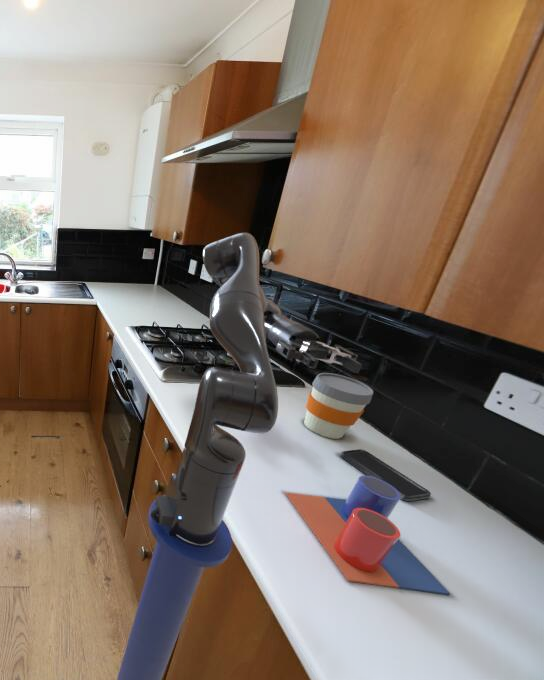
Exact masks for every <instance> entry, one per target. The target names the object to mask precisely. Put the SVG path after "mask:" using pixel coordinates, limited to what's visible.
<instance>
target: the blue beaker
mask: <svg viewBox="0 0 544 680" xmlns="http://www.w3.org/2000/svg"><path fill="white" fill-rule="evenodd" d="M345 500H346V502H345V504H344V505H343V507H342V513H343V515H344V516H345V517H346V518H347V519H348V518H349V517H350V515H351V513H352V511H353V510H354V509H355V508H366V509H369V510H372V511H375V512H377V513H379V514H381V515H383V516H384V517H386V518H387V519H389V517H391V514H392V513H393V511H394V510H395V508H396V507H397V505H398V503H399V502H400V500H402V499H401V495H400V493H399V492H398V491H397V490H396V489H395V488H394V487H393V486H391V485H390V484H388V483H386V482H385V481H383V480H380V479H378V478H375V477H372V476H367V475H366V474H364V475H360V476H358V479H357V480H356V482H355V484H354V486H353V487H352V489H351V491H350V493H349V494H348V496H347V498H346V499H345Z"/></svg>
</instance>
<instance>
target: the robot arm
mask: <svg viewBox="0 0 544 680" xmlns="http://www.w3.org/2000/svg"><path fill="white" fill-rule="evenodd" d="M202 261H203V266H204V269H205V270H206V272H207V275H208V276H209V277H210V278H211V280H212V281H214V282H215V283H216V285H218V286H219V288H217V290H216V292H215V293H214V295H213V297H212V299H211V301H210V306H209V328H210V331H211V334H212V335H213V336H214V338H215V339H216V342H218V343H219V345H220V346H221V347H222V348H223V349H224V350H225V351H226V353H228V355H229V356H230V357H231V358H232V359H233V361H234V362H235V363H236V365H237V366H238V369H239V370H233V369H229V368H224V367H217V366H211V367H209V368H207V369H206V370H205V371H204V372H203V374H202V376H201V379H200V381H199V385H198V389H197V393H196V398H195V403H194V408H193V413H192V416H191V420H190V423H189V428H188V431H187V434H186V438H185V442H184V446H183V450H182V453H181V456H180V460H179V463H178V466H177V470H176V473H171V475H170V477H169V481H168V485H167V489H166V492H165V494H164V495H165V496H163V495H156V498H155V500H156V501H155V500H154V501H155V507H156V508H155V509H153V510H152V511H151V517H152V519H153V520H154V521H155V522H156V523H160V525H164V526H167V530H168V533H169V535H170V536H175V537H177V538H178V539H179V540H181V541H183V542H185V543H187V544H189V545H192V546H196V547H206V546H209V545H211V544H212V543H213V542H214V541H215V539H216V536H217V532H218V529H219V526H220V524H221V521H222V520H223V518H224V515H225V513H226V511H227V508H228V505H229V503H230V500H231V497H232V495H233V492H234V490H235V487H236V484H237V481H238V479H239V476H240V474H241V471H242V469H243V466H244V463H245V461H246V456H247V455H246V450H245V449H246V448H245V447H244V445H243V444H242V442H240V440H239V439H238V438H236V437H235V436H234V435H233V434H231V433H229V432H228V431H226V430H224V428H229V429H232V430H237V431H240V432H246V433H250V434H257V435H258V434H259V435H263V434H266V433H268V432H270V431H271V430H272V429H273V428H274V427H275V424H276V422H277V418H278V413H279V395H278V388H277V383H276V379H275V378H276V377H275V375H274V371H273V367H272V363H271V359H270V355H269V351H268V350H269V349H268V345H267V339H268V340H269V341H270V342H271V343H272V344H273V345H274V346H276V347H275V351H277V352H278V353H279V354H280V355H281V356H282V357H283V358H285V359H286V360H289V361H291V360H293V359H294V360H295V361H296V362H298V363H302V364H304V365H305V366H306V367H308V368H309V369H313V370H316V368H317V366H318V364H319V361H322V362H325V363H327V364H337V365H340V366H342V367H343V368H345V369H346V370H348V371H350V372H352V374H353V373H354V374H359V373H360V371H361V369H362V366H363V364H362V362H361V363H360V362H359V361H358V360H357V358H358V357H359V355H358V354H357V353H355V352H352V351H351V350H349V349H347V348H345V347H343V346H341V345H339V344H334V346H330V345H328V344H326V343H324V342H322V341H321V339H320V336H319V335H318V334H317V332H315V331H314V330H312V329H311V328H308V327H307V326H304V324H301V323H300V322H297V321H295V320H293V319H290V318H289V317H287V316H285V315H283V314H282V310H281V308H280V306H278V305H277V304H276V303H275V302H273V301H272V300H270V299H269V298H267V296H266V294H265V292H264V289H263V288H262V287H261V285H260V252H259V245H258V243H257V240H256V238H255V237H254V236H253V235H252V234H251V233H250V232H238V233H235V234H232V235H230V236H227V237H224V238H221V239H218V240H216V241H213V242H211V243H209V244H207V245H205V247H203V250H202ZM329 354H330V356H329V358H327V357H328V355H329ZM221 427H224V428H221ZM156 515H158V516H156Z"/></svg>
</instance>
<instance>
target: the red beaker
mask: <svg viewBox="0 0 544 680" xmlns="http://www.w3.org/2000/svg"><path fill="white" fill-rule="evenodd" d="M400 537H401V531H400V530H399V528H398V527H397V525H396V524H395V523H394V522H393V521H392V520H390V519H389V518H388V519H387V518H386V517H384V516H383V515H381V514H379V513H377V512H375V511H372V510H369V509H366V508H355V509H354V510H353V511H352V513H351V515H350V517H349V518H348V520H347V522H346V524H345V525H344V527H343V529H342V531H341V532H340V534H339V536H338V537H337V539H336V541H335V543H334V548H335V550H336V552H337V553H338V554H339V556H340V557H341V558H342V559H343V560H345V561H346V562H347V563H348V564H350V565H351V566H353V567H355V568H357V569H359V570H362V571H365V572H376V571H377V570H378V568H379V567H380V565H381V564H382V562H383V561H384V560H385V558H386V557H387V555H388V554H389V552H390V551H391V549H392V548H393V546H394V545H395V543H396V542H397V540H398V539H399V540H400Z"/></svg>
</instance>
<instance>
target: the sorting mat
mask: <svg viewBox="0 0 544 680" xmlns="http://www.w3.org/2000/svg"><path fill="white" fill-rule="evenodd" d="M285 495H286V496H287V498H288V499H289V501H290V502H291V504H292V505H293V507H294V508H295V509H296V510H297V512H298V513H299V515H300V516H301V517H302V519H303V520H304V522H305V523H306V524H307V526H308V528H309V529H310V530H311V531H312V533H313V535H314V536H315V537H316V539H317V540H318V541H319V543H320V544H321V545H322V547H323V548H324V549H325V551H326V552H327V554H328V555H329V557H330V558H331V559H332V561H333V562H334V563H335V565H336V566H337V568H338V569H339V571H340V572H341V573H342V575H343V576H344V577H345V579H346V580H347V581H348V582H350V583H356V584H365V585H374V586H381V587H388V588H395V589H401V590H402V589H403V590H408V591H409V590H410V591H417V592H425V593H433V594H437V595H438V594H439V595H446V596H450V594H451V593H450V591H448V589H447V588H445V586H444V585H443V584H442V583H441V582H440V581H439V580H438V579H437V578H436V576H434V575H433V574H432V573H431V572H430V571H429V570H428V568H427V567H426V566H424V564H423V563H422V562H421V561H420V560H419V559H418V558H417V557H416V556H415V555H414V553H412V551H410V549H408V547H407V546H405V544H404V543H403V542H402V541H401V540H400V538H399V539H398V540H397V542H396V543H395V545H394V546H393V548H392V549H391V551H390V552H389V554H388V555H387V557H386V558H385V560H384V561H383V562H382V564H381V565H380V567H379V568H378V570H377V571H376V572H365V571H362V570H359V569H357V568H355V567H353V566H351V565H350V564H348V563H347V562H346V561H345V560H343V559H342V558H341V557H340V556H339V554H338V553H337V552H336V550H335V548H334V543H335V541H336V539H337V537H338V536H339V534H340V532H341V531H342V529H343V527H344V525H345V524H346V522H347V520H348V519H347V518H346V517H345V516H344V515H343V513H342V507H343V505H344V504H345V502H346V500H347V499H343V498H335V497H328V496H327V497H326V496H319V495H310V494H302V493H293V492H285Z"/></svg>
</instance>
